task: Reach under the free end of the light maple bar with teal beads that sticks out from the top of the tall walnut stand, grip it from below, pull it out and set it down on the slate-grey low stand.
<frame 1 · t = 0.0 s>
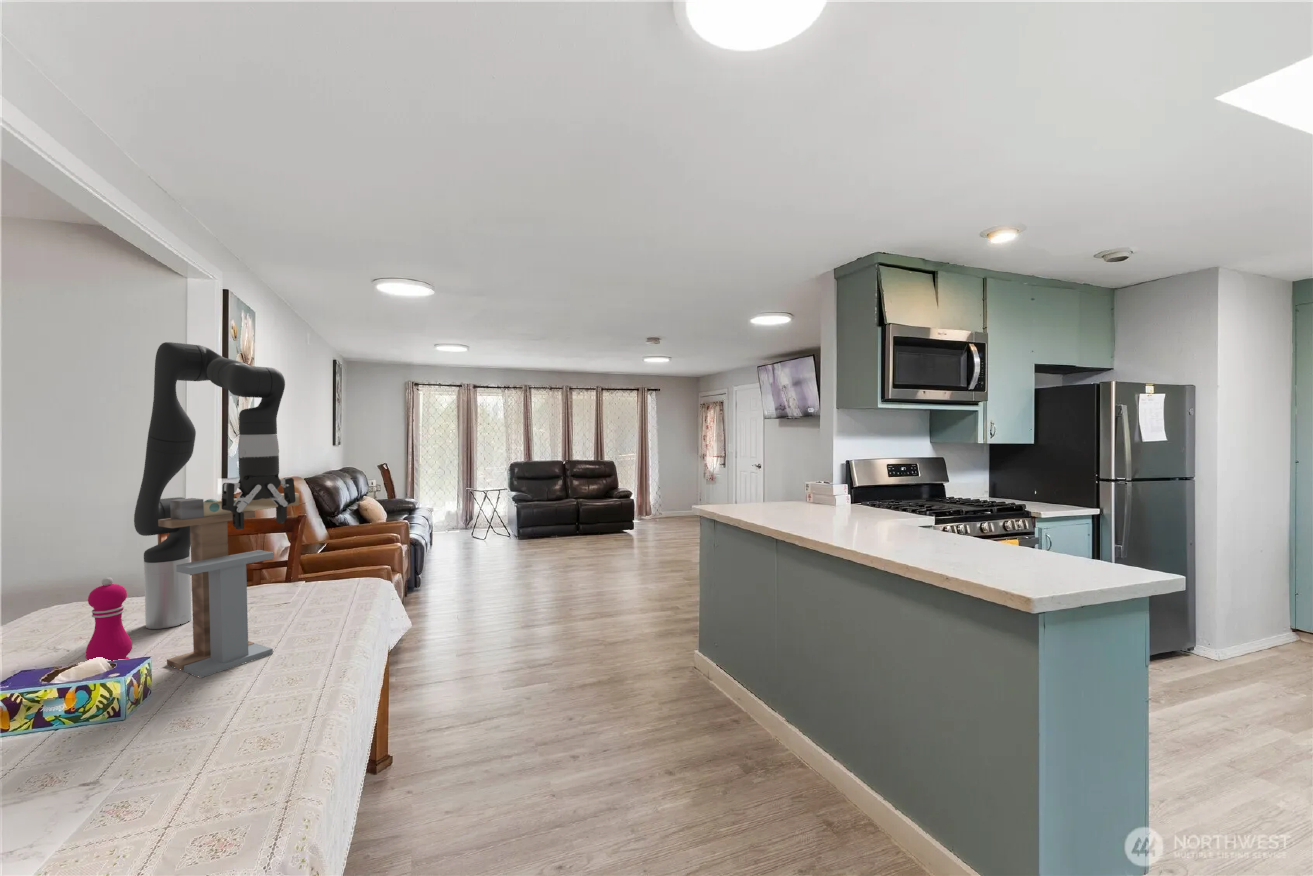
hand: (260, 525, 129), 29 cm above the table, tool pointing down, fingers open, 8 cm apart
tall stand: (212, 656, 128), on the table
low stand: (229, 662, 125), on the table
pepper mill: (110, 671, 121), on the table
maple bar: (240, 511, 134), point 32 cm above the table, touching tall stand
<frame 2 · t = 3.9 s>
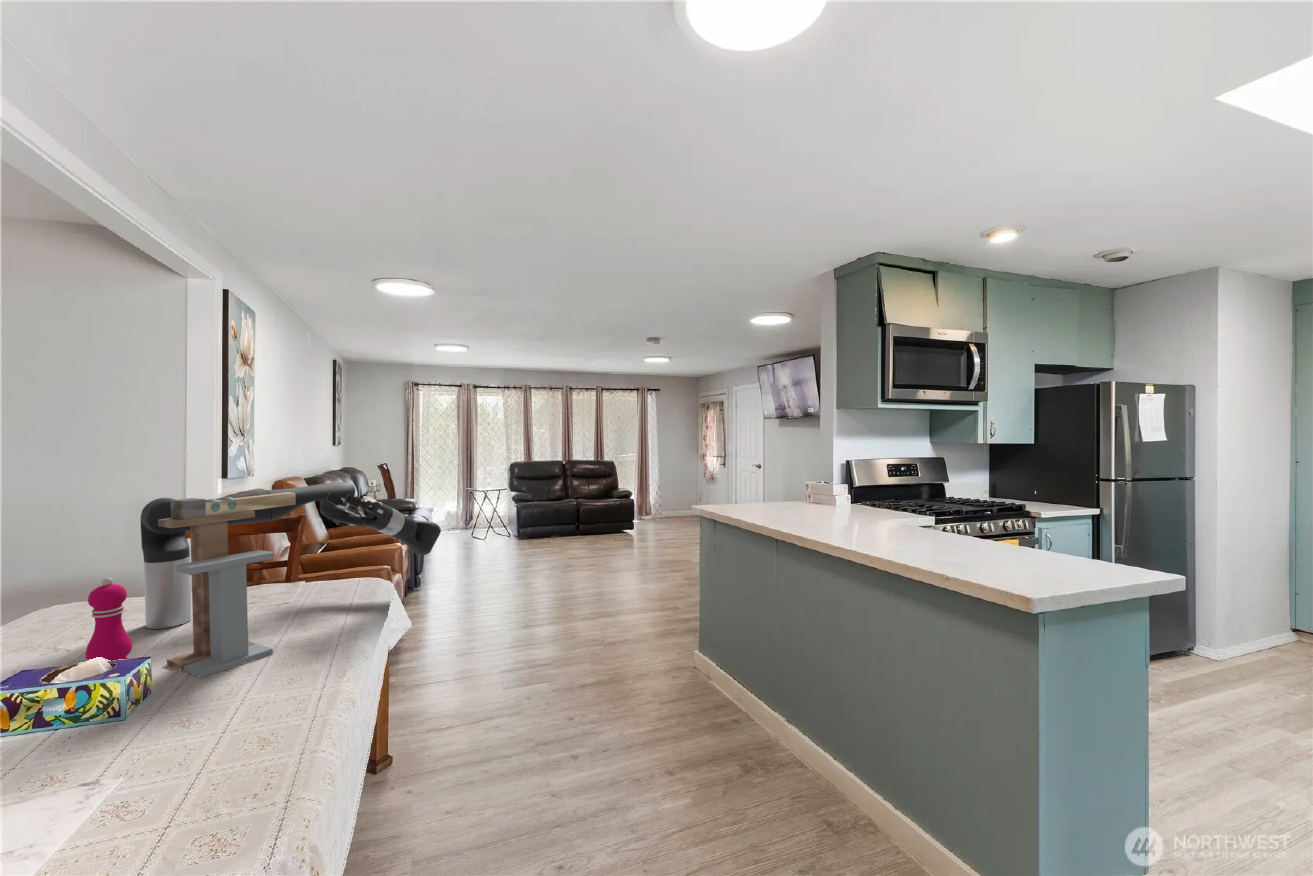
hand: (337, 497, 154), 33 cm above the table, tool pointing upward, fingers open, 8 cm apart
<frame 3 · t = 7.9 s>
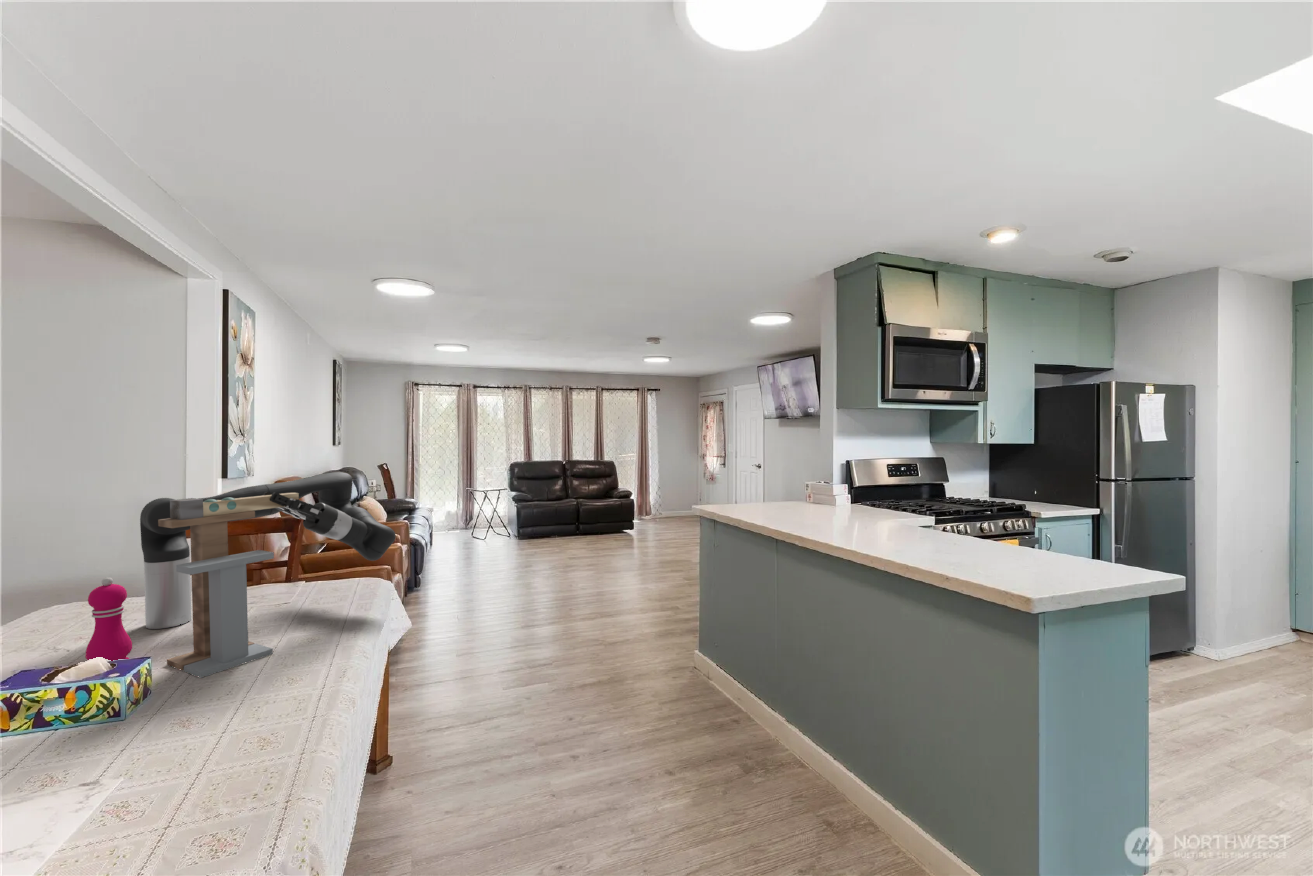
hand: (268, 495, 139), 35 cm above the table, tool pointing upward, fingers closed on maple bar, 3 cm apart
maple bar: (240, 511, 134), point 32 cm above the table, touching gripper, tall stand
everything else where it was.
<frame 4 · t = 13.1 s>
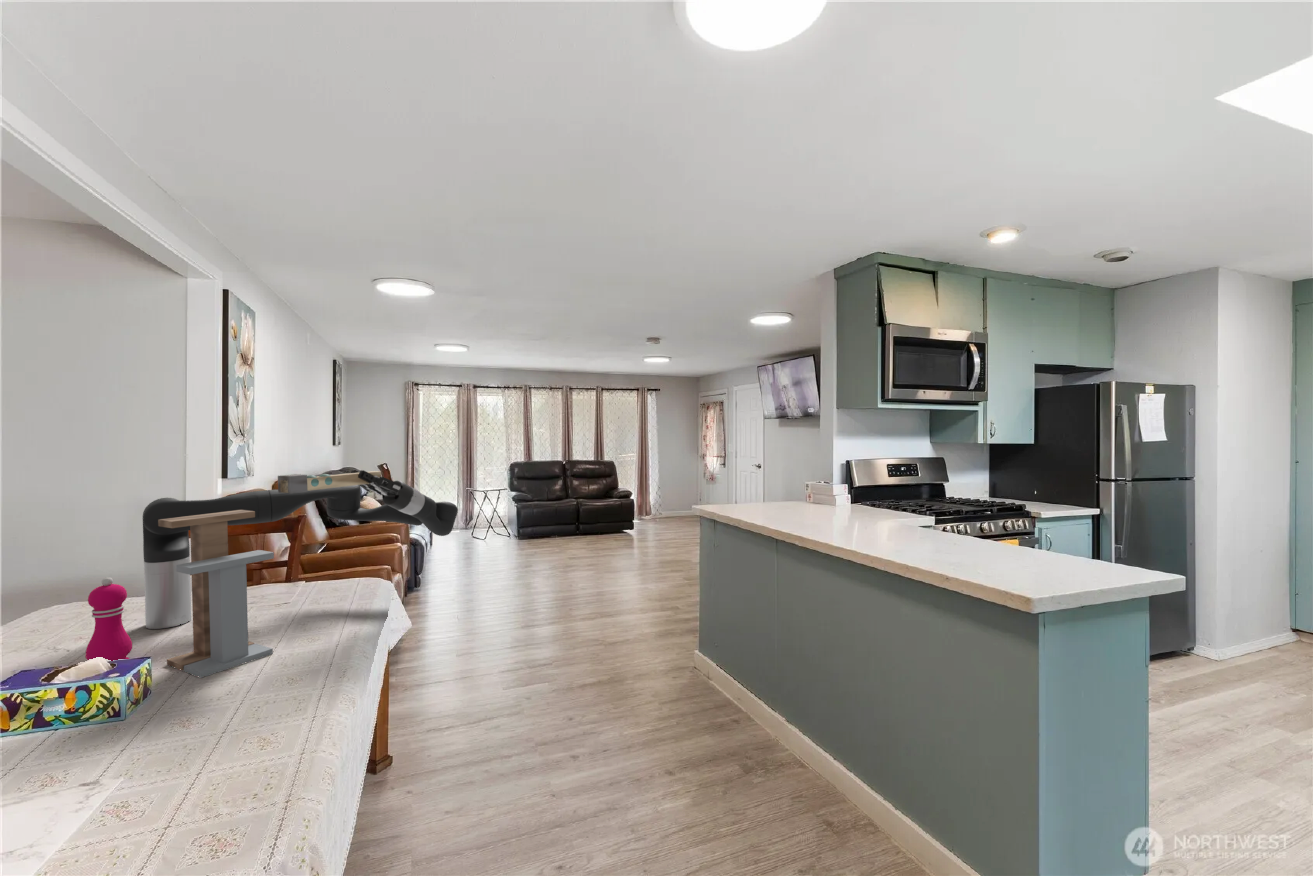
hand: (356, 473, 152), 39 cm above the table, tool pointing upward, fingers closed on maple bar, 3 cm apart
maple bar: (334, 486, 147), point 36 cm above the table, touching gripper
everything else where it was.
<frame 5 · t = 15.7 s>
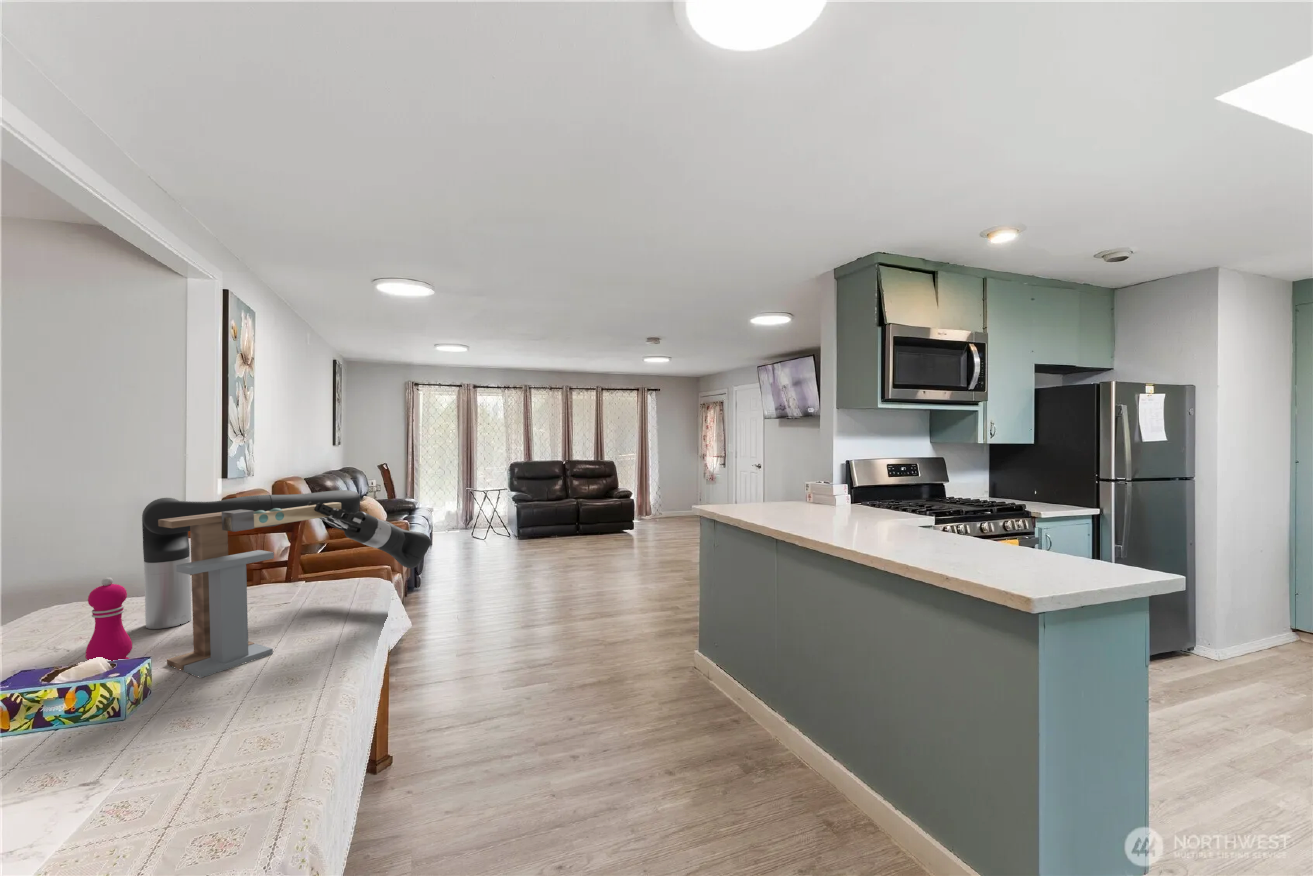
hand: (312, 506, 141), 32 cm above the table, tool pointing upward, fingers closed on maple bar, 3 cm apart
maple bar: (287, 521, 136), point 29 cm above the table, touching gripper
everything else where it was.
when the fingers open (27 cm above the table, at t = 18.0 s): maple bar stays where it is, resting on low stand.
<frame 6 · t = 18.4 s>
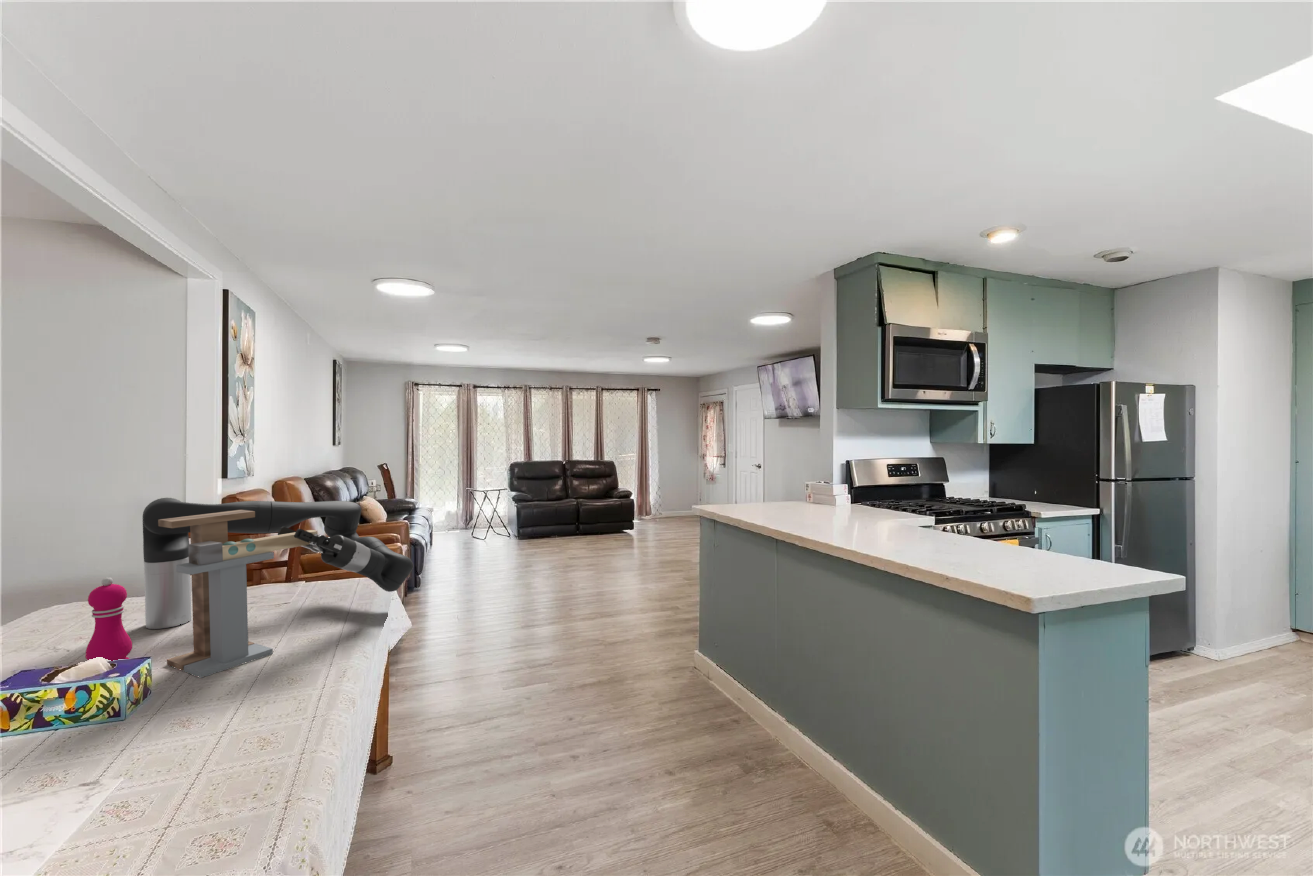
hand: (288, 531, 136), 27 cm above the table, tool pointing upward, fingers open, 6 cm apart
maple bar: (259, 552, 130), point 23 cm above the table, touching low stand
everything else where it was.
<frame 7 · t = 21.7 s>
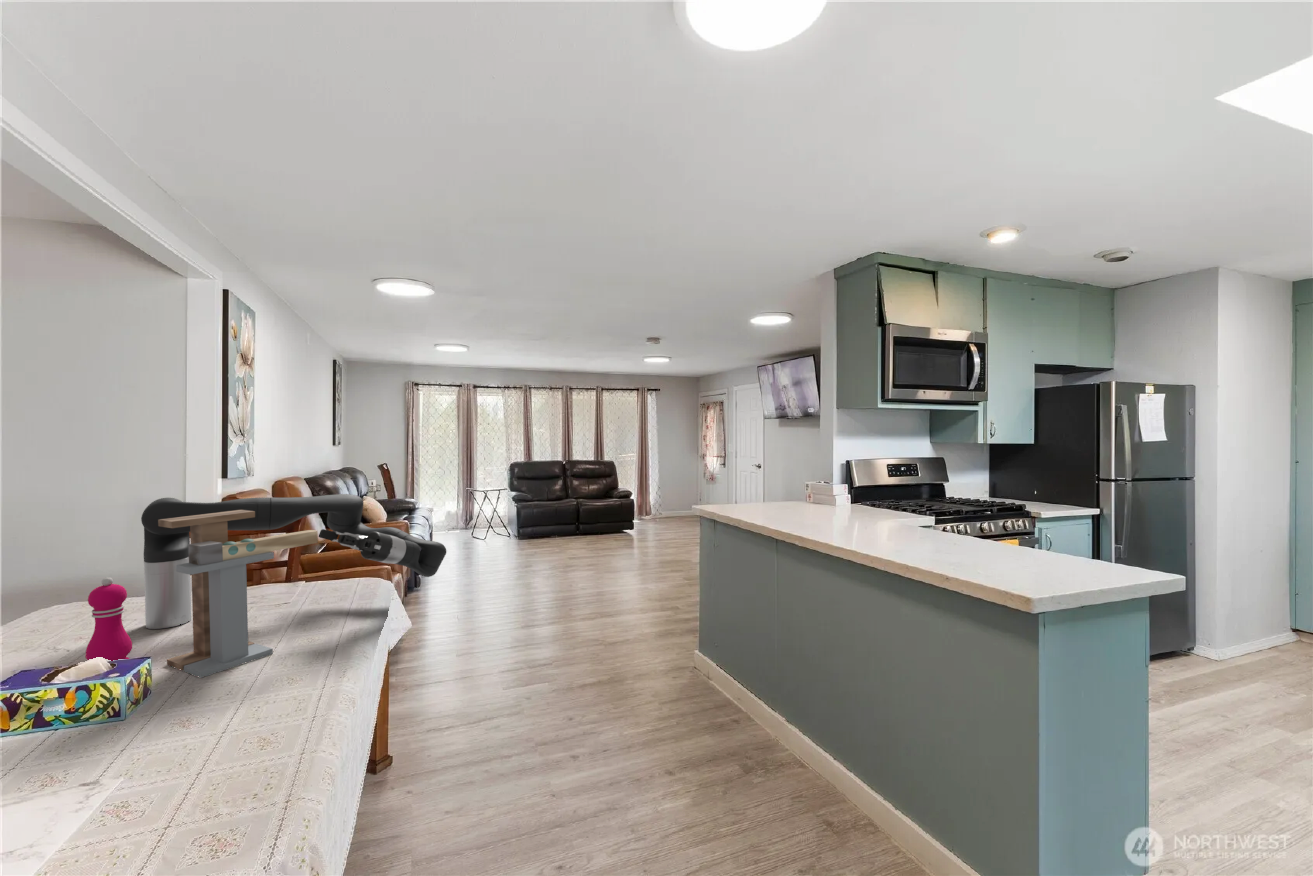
hand: (330, 535, 144), 24 cm above the table, tool pointing upward, fingers open, 8 cm apart
nothing on the table moved.
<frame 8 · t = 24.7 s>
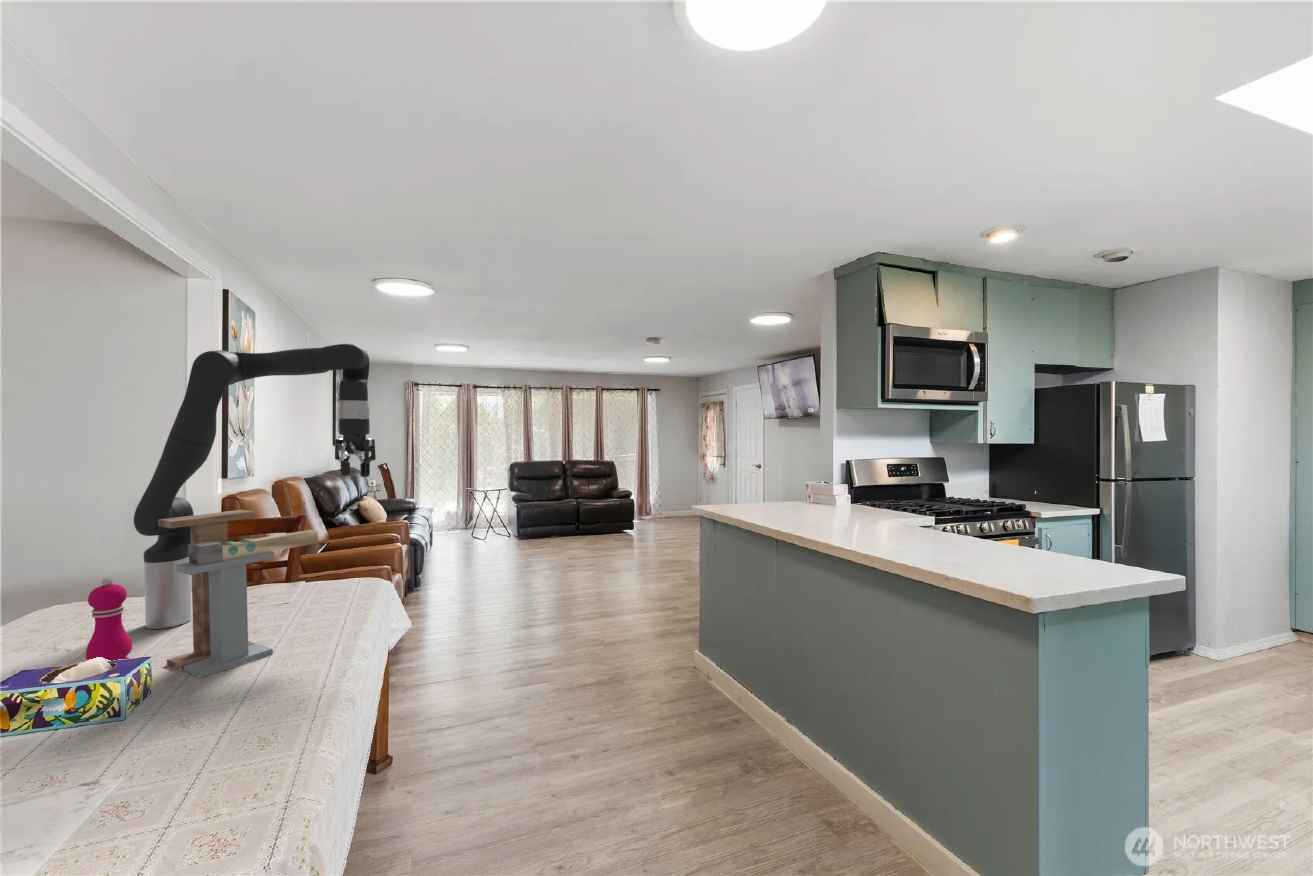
hand: (355, 476, 157), 38 cm above the table, tool pointing down, fingers open, 8 cm apart
nothing on the table moved.
at the end: maple bar 0.0 cm from the target spot on the low stand, point 23.0 cm above the low stand's base; the gripper is holding nothing; maple bar tilted 0° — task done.
